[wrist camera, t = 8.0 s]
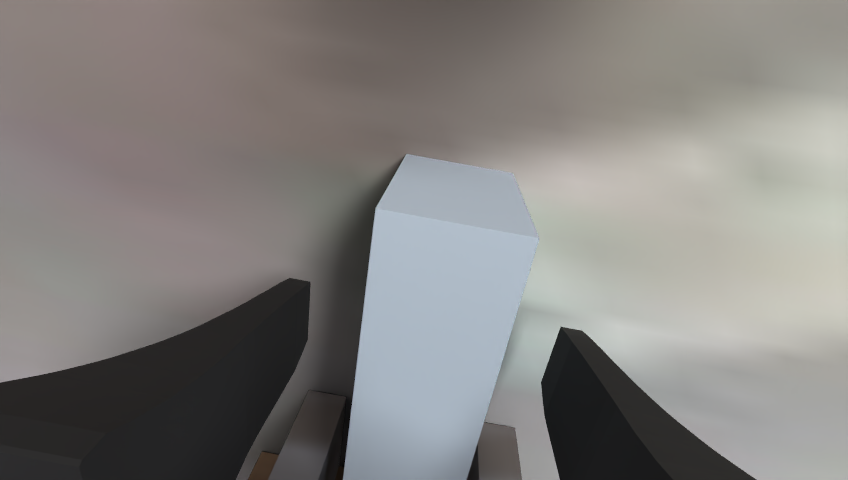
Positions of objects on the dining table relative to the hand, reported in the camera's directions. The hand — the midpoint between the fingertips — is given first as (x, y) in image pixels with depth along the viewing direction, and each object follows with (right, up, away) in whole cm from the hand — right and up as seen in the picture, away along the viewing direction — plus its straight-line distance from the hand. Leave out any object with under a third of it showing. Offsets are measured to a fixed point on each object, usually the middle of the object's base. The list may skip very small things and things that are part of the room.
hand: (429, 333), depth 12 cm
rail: (0, 0, +3) cm, 3 cm away
